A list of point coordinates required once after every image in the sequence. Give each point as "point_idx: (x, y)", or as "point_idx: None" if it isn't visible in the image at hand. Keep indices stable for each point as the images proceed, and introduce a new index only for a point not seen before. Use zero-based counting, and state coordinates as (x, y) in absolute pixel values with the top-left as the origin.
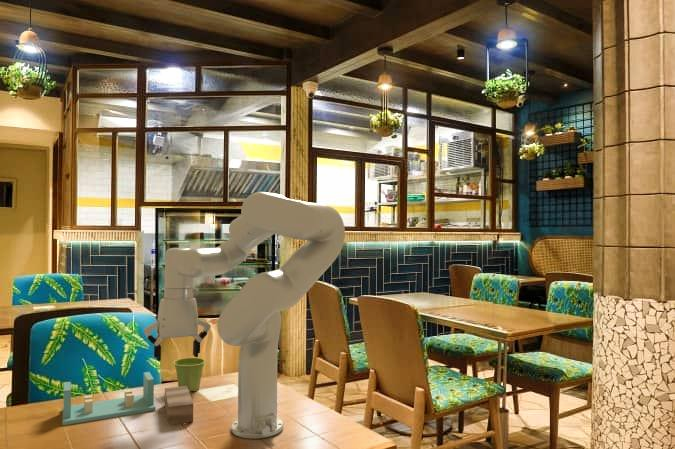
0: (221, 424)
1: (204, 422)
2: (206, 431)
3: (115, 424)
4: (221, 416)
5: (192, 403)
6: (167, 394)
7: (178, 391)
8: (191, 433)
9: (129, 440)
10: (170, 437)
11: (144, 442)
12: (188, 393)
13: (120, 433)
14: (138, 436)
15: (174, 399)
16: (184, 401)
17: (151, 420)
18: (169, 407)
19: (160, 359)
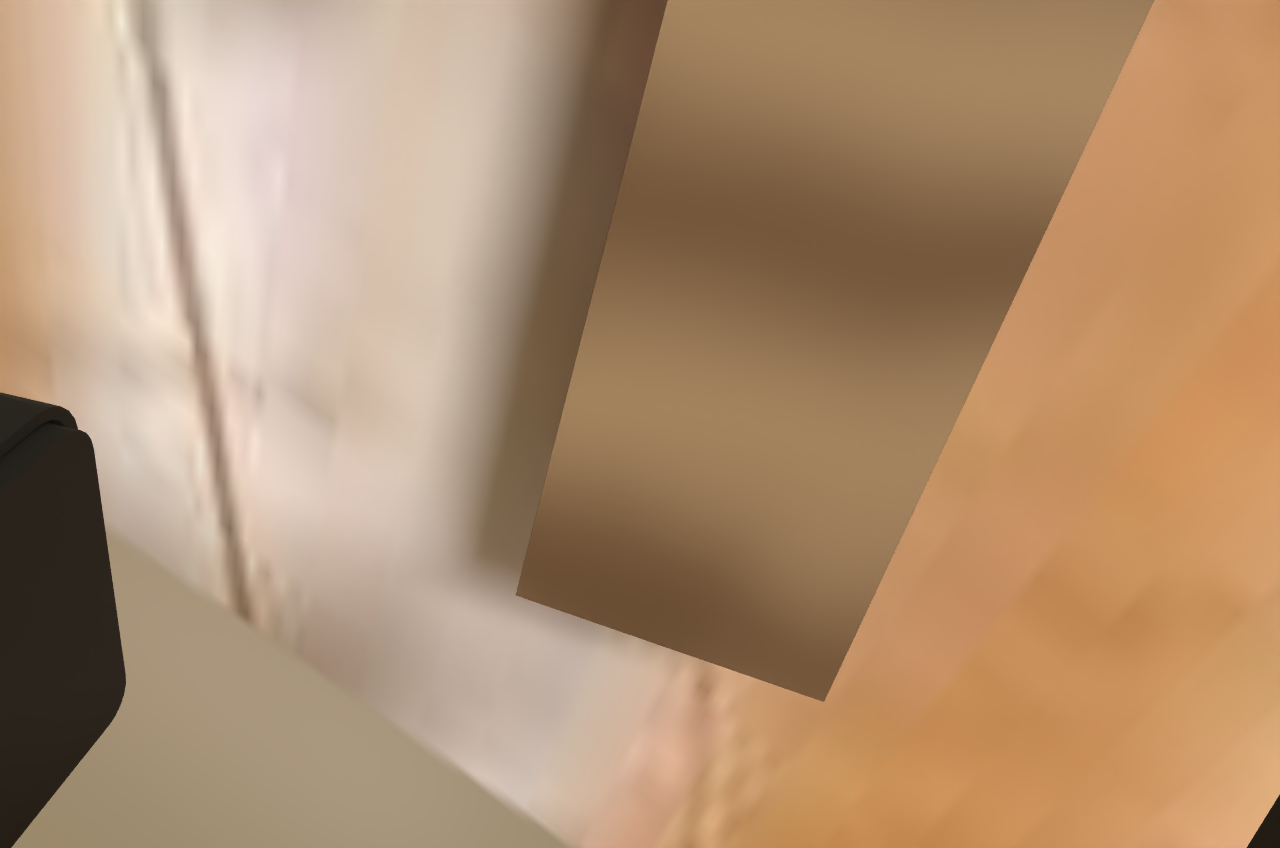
0: (1054, 769)
1: (943, 624)
2: (840, 797)
3: (64, 30)
4: (1208, 608)
5: (822, 683)
6: (674, 75)
7: (917, 25)
8: (706, 747)
9: (194, 532)
10: (518, 699)
11: (304, 645)
12: (1003, 268)
13: (121, 331)
14: (272, 506)
15: (683, 389)
16: (769, 554)
17: (460, 184)
18: (530, 594)
19: (100, 722)
